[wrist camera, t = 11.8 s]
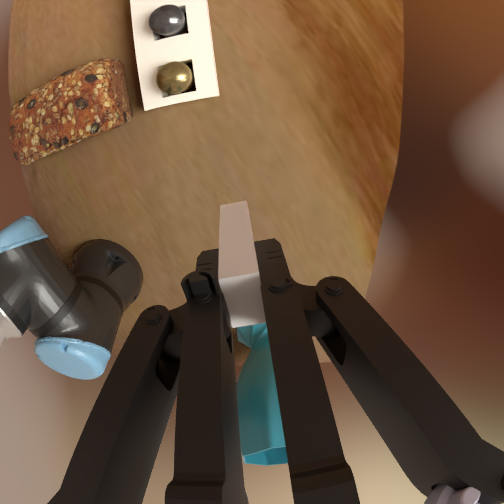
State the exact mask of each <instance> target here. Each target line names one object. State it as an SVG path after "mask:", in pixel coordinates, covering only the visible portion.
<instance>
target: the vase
mask: <svg viewBox="0 0 504 504" xmlns="http://www.w3.org/2000/svg"><path fill="white" fill-rule="evenodd" d="M237 336H238V341H239V342H241V343H243V344H245V345H246V346H248V347H250V348H251V350H250V353H249V355H248V356H247V358H246V360H245V362H244V364H243V366H242V369H241V371H240V373H239V376H238V379H237V382H236V389H237V404H238V417H239V431H240V443H241V455H242V460H243V462H244V463H248V464H256V465H266V466H267V465H277V464H286V463H288V459H287V452H286V446H285V440H284V433H283V427H282V421H281V414H280V408H279V402H278V395H277V389H276V383H275V376H274V370H273V364H272V357H271V351H270V345H269V338H268V332H267V326H266V323H261V324H255V325H248V326H242V327H237Z"/></svg>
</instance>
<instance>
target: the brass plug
mask: <svg viewBox="0 0 504 504" xmlns="http://www.w3.org/2000/svg"><path fill="white" fill-rule="evenodd" d="M194 82H195V77H194V72H193V70H192V69H190V68H189V67H188V66H187V65H186V64H184V63H182V62H178V61H173V62H169V63H166V64H165V65H163V66H162V67H161V68H160V69H159V71H158V73H157V76H156V83H157V86H158V88H159V89H160V90H161V91H163V92H164V93H167V94H178V93H181V92H184V91H187V90H188V89H190V88H191V87H192V86H193V84H194Z"/></svg>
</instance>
